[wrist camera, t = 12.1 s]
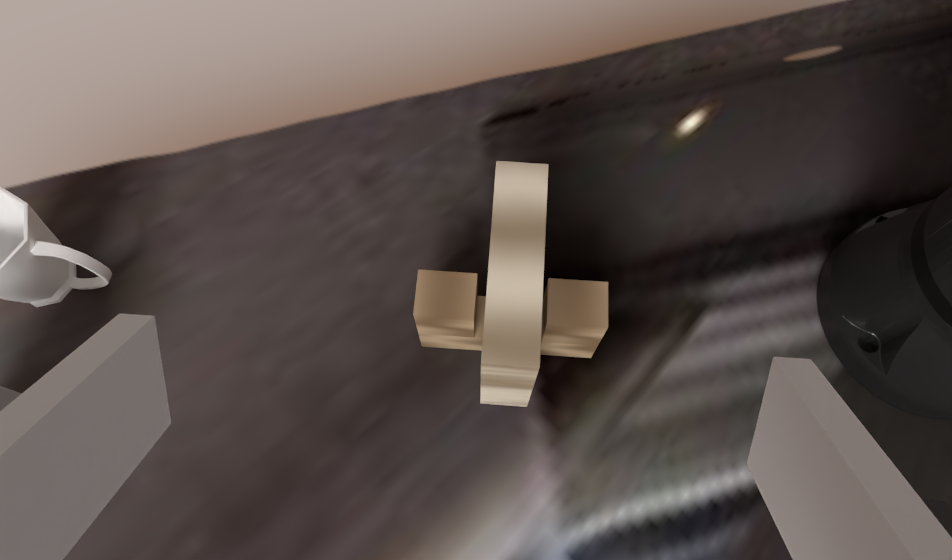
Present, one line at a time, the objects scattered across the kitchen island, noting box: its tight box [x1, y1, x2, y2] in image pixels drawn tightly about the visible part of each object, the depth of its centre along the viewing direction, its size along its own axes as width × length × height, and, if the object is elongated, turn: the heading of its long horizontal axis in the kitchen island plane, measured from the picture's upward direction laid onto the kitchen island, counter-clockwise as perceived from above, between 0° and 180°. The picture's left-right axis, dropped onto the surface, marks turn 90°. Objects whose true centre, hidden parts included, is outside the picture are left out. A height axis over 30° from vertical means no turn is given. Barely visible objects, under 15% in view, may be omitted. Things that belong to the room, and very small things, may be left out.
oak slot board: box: [413, 270, 608, 358], centre depth 46 cm, size 12×3×7 cm, turn 86°
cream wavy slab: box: [480, 161, 548, 407], centre depth 42 cm, size 12×3×10 cm, turn 176°
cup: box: [0, 186, 112, 307], centre depth 47 cm, size 7×10×8 cm
